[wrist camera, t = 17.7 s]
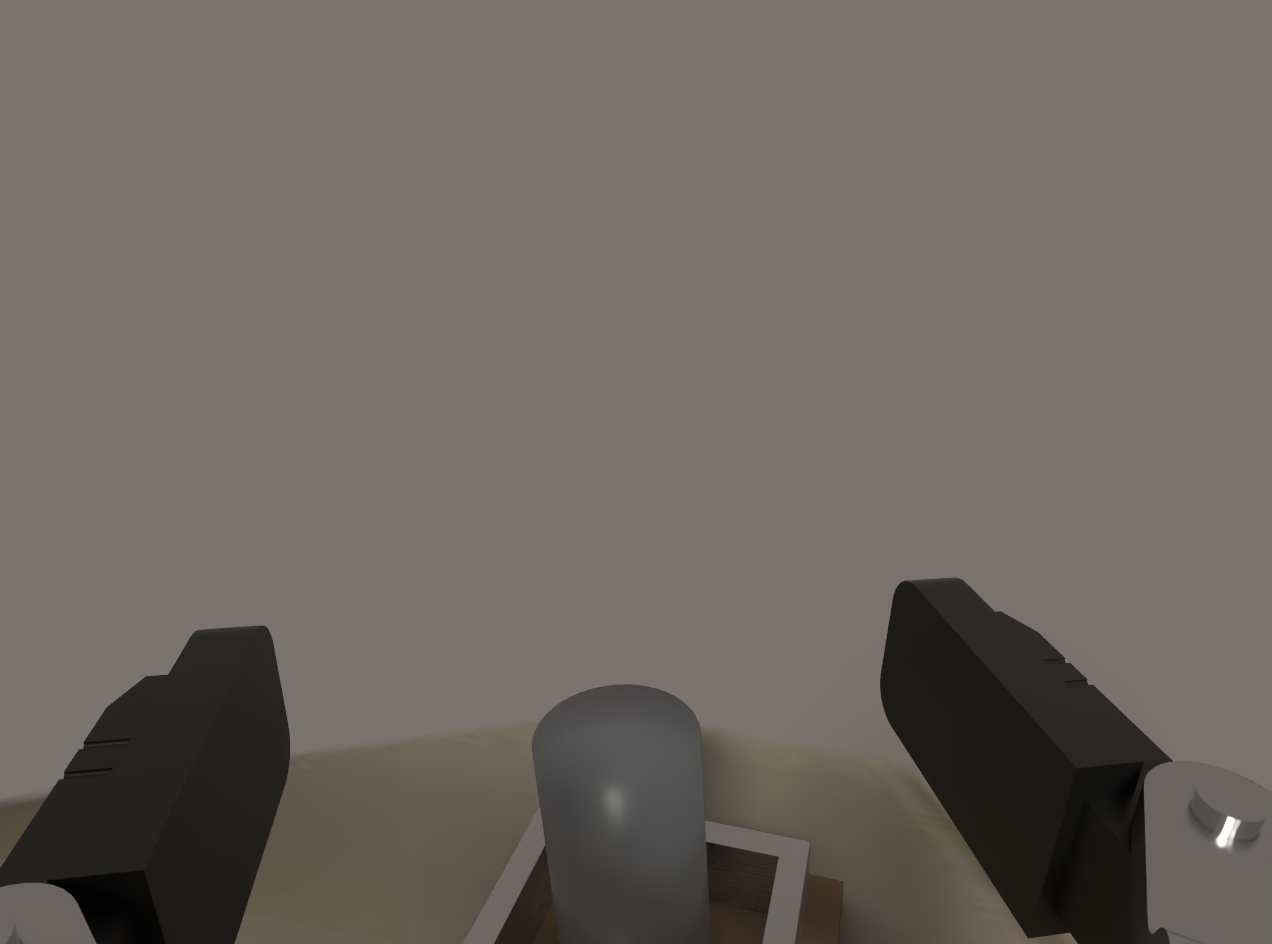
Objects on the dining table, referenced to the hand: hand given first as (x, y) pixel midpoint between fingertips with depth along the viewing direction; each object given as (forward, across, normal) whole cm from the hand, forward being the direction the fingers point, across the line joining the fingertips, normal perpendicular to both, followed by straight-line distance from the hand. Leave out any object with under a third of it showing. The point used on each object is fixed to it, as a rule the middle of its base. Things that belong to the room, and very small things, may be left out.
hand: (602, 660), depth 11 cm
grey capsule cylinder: (+10, +2, -21) cm, 24 cm away
